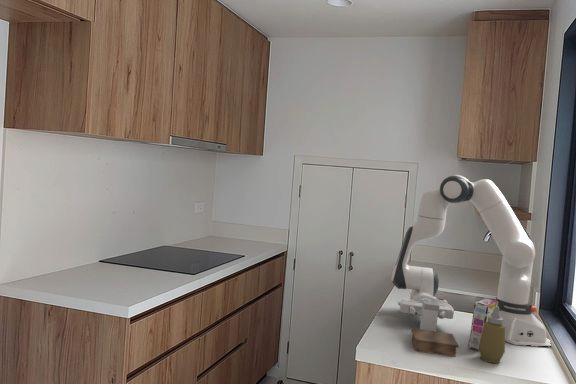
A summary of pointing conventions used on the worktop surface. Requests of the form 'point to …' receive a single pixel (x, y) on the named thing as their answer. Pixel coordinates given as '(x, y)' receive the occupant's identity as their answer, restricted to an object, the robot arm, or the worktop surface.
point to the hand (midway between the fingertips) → (428, 314)
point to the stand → (434, 342)
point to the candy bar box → (480, 320)
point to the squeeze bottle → (493, 338)
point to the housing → (429, 315)
